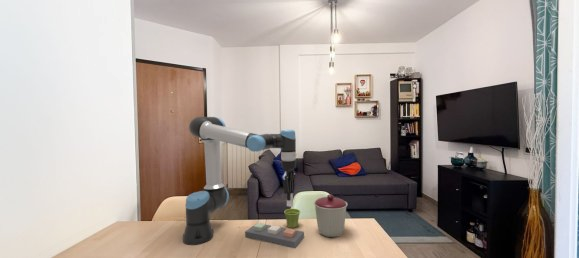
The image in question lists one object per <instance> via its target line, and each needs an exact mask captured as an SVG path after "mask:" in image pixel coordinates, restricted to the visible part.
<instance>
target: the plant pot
mask: <svg viewBox="0 0 579 258" xmlns="http://www.w3.org/2000/svg"><path fill="white" fill-rule="evenodd" d="M283 212H284V215H285V220H286V227H287V228H290V229H295V228H297V227H298V226H299V218H300V217H299V216H300V215H301V210H300V209H297V208H288V209H285V210H284V211H283Z"/></svg>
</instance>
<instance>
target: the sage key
mask: <svg viewBox="0 0 579 258" xmlns="http://www.w3.org/2000/svg"><path fill="white" fill-rule="evenodd" d="M255 224H256V225H255ZM255 224H253V225H252V226H253V230H255V231H260V232H262V231H263V230H264V229H266V225H267V224H266V223H262V222H256V223H255Z"/></svg>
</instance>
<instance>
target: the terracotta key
mask: <svg viewBox="0 0 579 258" xmlns="http://www.w3.org/2000/svg"><path fill="white" fill-rule="evenodd" d="M296 230H297V229H295V228H289V227H287V229H286V230H285V231H284V232H283V236H285V237H290V238H293V237H294V236H295V235H296Z"/></svg>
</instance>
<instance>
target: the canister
mask: <svg viewBox="0 0 579 258" xmlns="http://www.w3.org/2000/svg"><path fill="white" fill-rule="evenodd" d="M313 205H314V208H315V215H316V222H317V229H318V232H319V233H320V234H321V235H322V236H324V237H327V238H337V237H340V236H342V235H343V233H344V230H345V225H346V224H345V222H346V216H347V215H346V214H347V207H348V201H345V199H342V198H339V197H335V196H334V195H333V194H327V196H324V197H323V196H322V197H319V198H318V199H316V200H314V202H313Z"/></svg>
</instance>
